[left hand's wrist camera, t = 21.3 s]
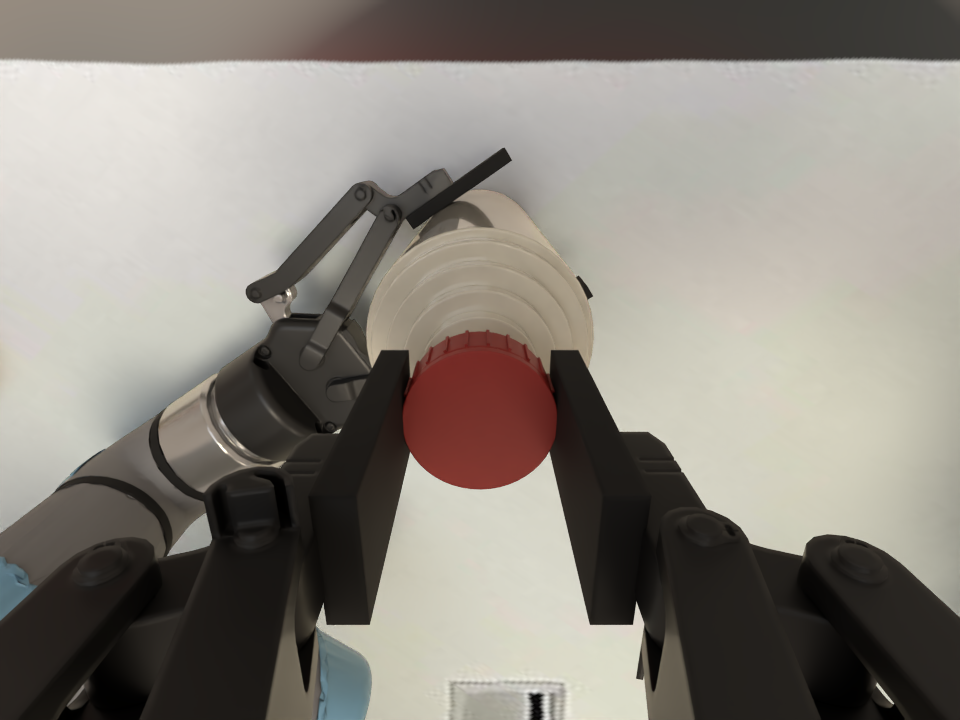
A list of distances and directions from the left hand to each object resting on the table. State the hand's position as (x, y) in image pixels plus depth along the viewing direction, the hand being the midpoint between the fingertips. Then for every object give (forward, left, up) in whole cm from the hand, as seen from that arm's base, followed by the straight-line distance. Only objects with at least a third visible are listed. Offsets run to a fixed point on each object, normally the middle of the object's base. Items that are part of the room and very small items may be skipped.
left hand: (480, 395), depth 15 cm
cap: (0, 0, +1) cm, 1 cm away
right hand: (-4, -2, -18) cm, 18 cm away
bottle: (0, 0, -24) cm, 24 cm away
